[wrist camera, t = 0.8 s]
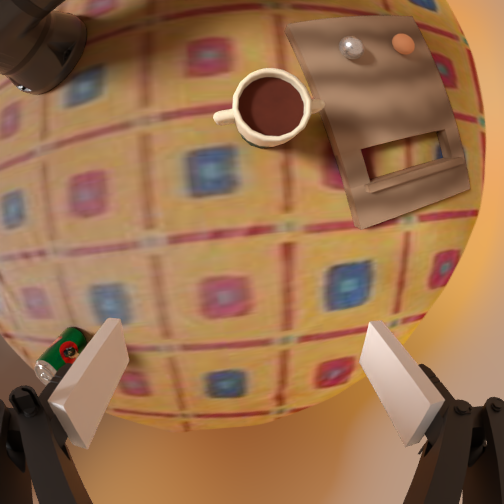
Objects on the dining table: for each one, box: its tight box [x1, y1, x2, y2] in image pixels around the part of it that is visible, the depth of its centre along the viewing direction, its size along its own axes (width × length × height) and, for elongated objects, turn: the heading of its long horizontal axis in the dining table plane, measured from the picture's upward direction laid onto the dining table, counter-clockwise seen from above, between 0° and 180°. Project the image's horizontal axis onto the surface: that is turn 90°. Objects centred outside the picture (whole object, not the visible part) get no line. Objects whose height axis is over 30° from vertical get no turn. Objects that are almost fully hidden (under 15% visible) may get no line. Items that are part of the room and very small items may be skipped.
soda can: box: [34, 327, 87, 385], centre depth 37 cm, size 5×5×12 cm
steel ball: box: [339, 36, 364, 59], centre depth 28 cm, size 3×3×3 cm
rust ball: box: [392, 34, 415, 55], centre depth 27 cm, size 3×3×3 cm
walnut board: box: [285, 16, 470, 230], centre depth 32 cm, size 30×22×4 cm
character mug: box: [213, 68, 325, 148], centre depth 29 cm, size 11×7×13 cm, turn 99°
